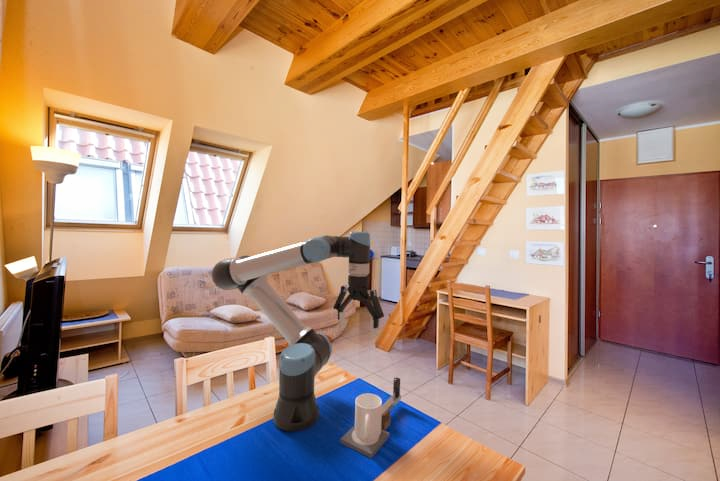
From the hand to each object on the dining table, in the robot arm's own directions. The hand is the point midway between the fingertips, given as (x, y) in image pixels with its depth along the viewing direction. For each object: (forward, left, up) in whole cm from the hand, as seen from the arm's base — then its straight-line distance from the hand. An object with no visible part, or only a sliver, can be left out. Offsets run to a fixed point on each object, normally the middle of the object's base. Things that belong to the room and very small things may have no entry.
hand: (357, 332), depth 114 cm
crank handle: (+13, +1, -24) cm, 28 cm away
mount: (+13, -5, -27) cm, 30 cm away
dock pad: (+13, -14, -27) cm, 33 cm away
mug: (+14, -14, -26) cm, 32 cm away
